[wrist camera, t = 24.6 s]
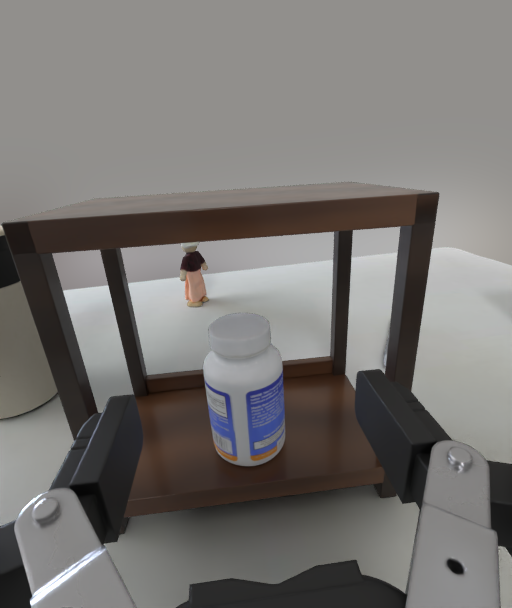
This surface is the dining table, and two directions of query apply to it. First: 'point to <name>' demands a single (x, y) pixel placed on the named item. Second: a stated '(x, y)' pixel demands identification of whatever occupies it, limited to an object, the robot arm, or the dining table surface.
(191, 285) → the grandmother figurine
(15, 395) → the travel mug
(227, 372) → the pill bottle
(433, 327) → the dining table surface
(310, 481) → the shelf
